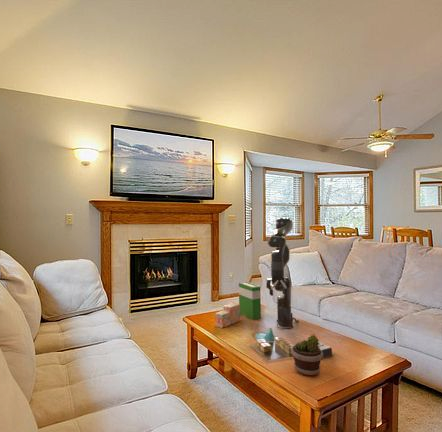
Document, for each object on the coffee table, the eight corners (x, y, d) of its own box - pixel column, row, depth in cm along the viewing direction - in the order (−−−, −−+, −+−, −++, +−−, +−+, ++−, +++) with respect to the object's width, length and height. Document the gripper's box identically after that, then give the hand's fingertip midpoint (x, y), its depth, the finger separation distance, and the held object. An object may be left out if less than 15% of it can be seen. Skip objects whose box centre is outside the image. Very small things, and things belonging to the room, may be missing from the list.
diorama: (263, 331, 201) (263, 319, 201) (284, 343, 183) (284, 329, 183) (248, 335, 196) (248, 322, 196) (268, 347, 178) (268, 332, 178)
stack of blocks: (222, 328, 207) (222, 310, 207) (215, 326, 211) (215, 308, 211) (240, 320, 222) (240, 303, 222) (233, 318, 227) (233, 302, 227)
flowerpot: (285, 370, 149) (284, 330, 149) (302, 361, 159) (301, 323, 159) (312, 383, 138) (311, 339, 138) (329, 372, 147) (328, 331, 147)
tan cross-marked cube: (291, 349, 170) (291, 343, 170) (296, 352, 166) (296, 347, 166) (284, 350, 169) (284, 344, 169) (288, 353, 165) (288, 348, 165)
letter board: (284, 342, 183) (284, 335, 183) (304, 356, 164) (304, 349, 164) (251, 346, 178) (250, 339, 178) (267, 362, 158) (267, 354, 158)
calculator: (311, 338, 179) (332, 346, 165) (311, 345, 179) (332, 354, 165) (296, 341, 174) (317, 350, 161) (297, 349, 174) (317, 358, 161)
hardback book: (239, 313, 239) (238, 282, 239) (247, 311, 242) (246, 281, 242) (252, 319, 223) (252, 287, 223) (260, 318, 226) (260, 286, 226)
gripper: (270, 270, 180) (270, 297, 180) (291, 268, 184) (291, 295, 184) (264, 268, 187) (264, 294, 187) (284, 267, 191) (285, 292, 191)
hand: (277, 294), depth 186 cm, fingers open, 8 cm apart
